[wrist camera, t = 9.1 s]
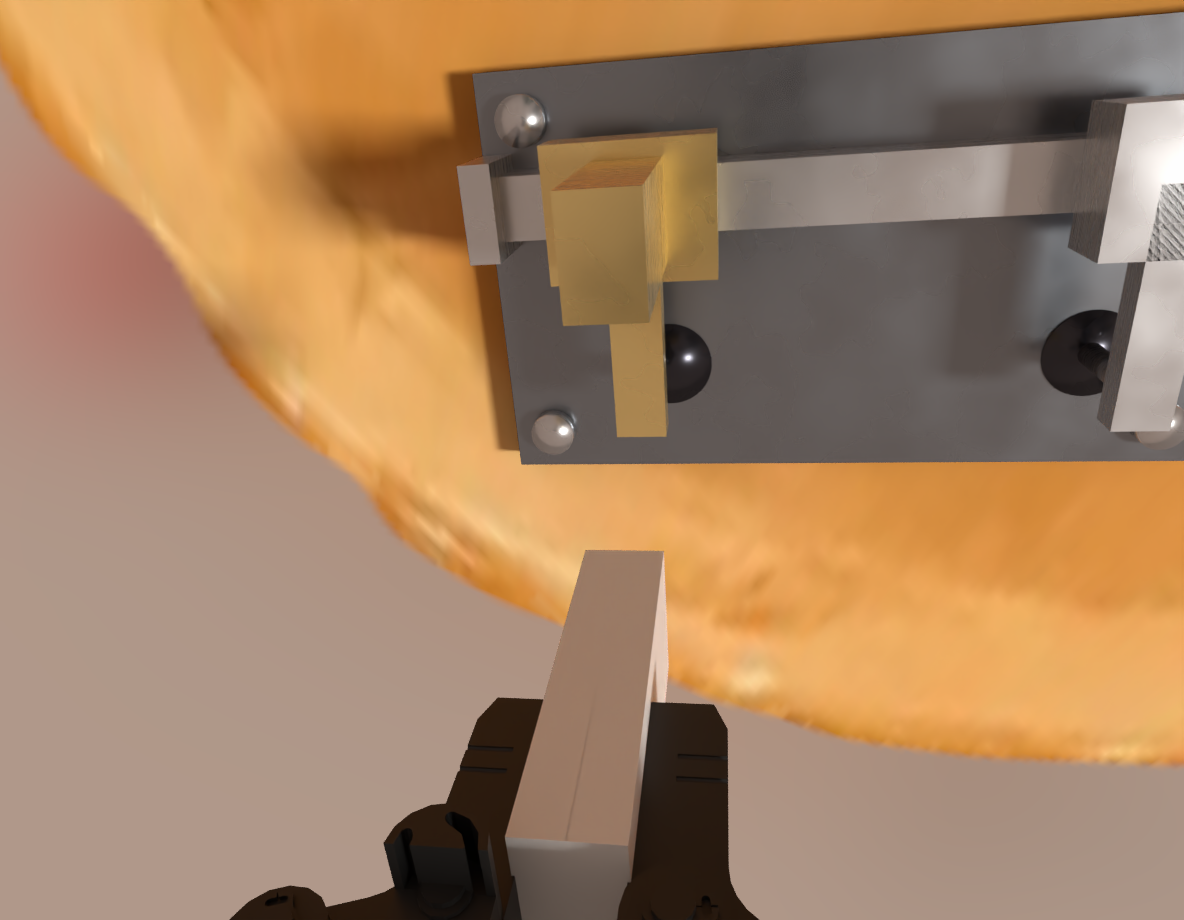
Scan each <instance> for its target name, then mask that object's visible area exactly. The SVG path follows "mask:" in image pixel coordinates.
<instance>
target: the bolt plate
mask: <svg viewBox="0 0 1184 920" xmlns="http://www.w3.org/2000/svg"><path fill="white" fill-rule="evenodd" d="M472 75H473V83H474V91H475V99H476V107H477V115H478V123H479V131H480V139H481V147H482V155H483V156H490V155H504V154H512V162H513V170H518V169H533V168H539V161H538V151H537V146H538V145H540V144H542V143H544V142H547V141H549V140H555V139H569V138H582V137H596V136H610V135H624V134H638V133H652V132H666V131H680V130H694V129H708V128H717V150H718V156H729V155H744V154H759V153H774V152H789V151H804V150H819V149H834V148H849V147H864V146H879V145H894V144H909V143H925V142H940V141H955V140H970V139H985V138H1000V137H1015V136H1030V135H1045V134H1060V133H1075V132H1087V128H1088V122H1089V116H1090V111H1091V105H1092V100H1103V99H1117V98H1131V97H1145V96H1159V95H1173V94H1184V12H1179V13H1167V14H1156V15H1144V16H1133V17H1121V18H1110V19H1098V20H1087V21H1075V22H1064V23H1052V24H1041V25H1029V26H1018V27H1006V28H995V29H983V30H972V31H960V32H949V33H937V34H926V35H914V36H903V37H891V38H880V39H868V40H857V41H845V42H834V43H822V44H811V45H799V46H787V47H776V48H764V49H753V50H741V51H730V52H718V53H707V54H695V55H684V56H672V57H661V58H649V59H638V60H626V61H615V62H603V63H592V64H580V65H569V66H557V67H546V68H534V69H523V70H511V71H500V72H488V73H477V74H472ZM1072 218H1073V213H1056V214H1037V215H1017V216H998V217H979V218H959V219H940V220H920V221H901V222H882V223H862V224H843V225H824V226H804V227H785V228H765V229H746V230H727V231H718V242H719V271H718V280H699V281H675V282H663V302H664V327H665V352H666V376H667V401H668V430H667V437H617V428H616V413H615V399H614V384H613V370H612V356H611V341H610V327H609V324H606V325H576V326H563V321H562V310H561V300H560V289H559V286H556V287H551V283H550V272H549V262H548V252H547V242H546V240H533V241H521V243H522V245H521V246H520V247H519V248H518V249H517V250H516V251H515V252H514V253H513V254H511V255H510V256H509V257H508V258H507V259H506V260H505V261H504V262H503V263H501V264H496V266H497V274H498V282H499V290H500V298H501V306H502V314H503V322H504V330H505V338H506V346H507V353H508V361H509V369H510V377H511V385H512V393H513V401H514V409H515V417H516V425H517V433H518V441H519V449H520V457H521V464H690V463H867V462H1044V461H1184V375H1183V379H1182V384H1181V388H1180V392H1179V396H1178V400H1177V404H1176V408H1175V412H1174V416H1173V421H1172V425H1171V429H1170V431H1129V432H1110V431H1109V430H1108V429H1107V428H1106V427H1105V426H1104V425H1103V424H1102V423H1101V422H1100V421H1099V420H1098V419H1097V414H1098V409H1099V404H1100V399H1101V394H1102V389H1103V384H1104V383H1103V382H1102V381H1101V380H1100V379H1099V378H1098V377H1096V376H1095V375H1094V374H1093V373H1092V372H1090V371H1089V370H1088V369H1087V368H1086V367H1085V366H1083V365H1082V364H1081V363H1080V362H1079V361H1078V358H1077V354H1078V351H1079V350H1080V348H1081V347H1082V346H1084V345H1085V344H1088V343H1098V344H1100V345H1101V346H1103V347H1104V348H1105V349H1106V350H1108V351H1109V352H1110V350H1111V345H1112V340H1113V335H1114V330H1115V325H1116V320H1117V315H1118V310H1119V305H1120V300H1121V295H1122V290H1123V285H1124V280H1125V275H1126V270H1127V265H1128V263H1104V264H1097V263H1095V262H1093V261H1091V260H1090V259H1088V258H1086V257H1084V256H1082V255H1080V254H1079V253H1077V252H1075V251H1073V250H1071V249H1069V248H1068V242H1069V236H1070V230H1071V224H1072Z"/></svg>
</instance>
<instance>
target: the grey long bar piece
mask: <svg viewBox="0 0 1184 920" xmlns="http://www.w3.org/2000/svg"><path fill="white" fill-rule="evenodd" d="M457 173H458V180H459V188H460V195H461V202H462V209H463V216H464V224H465V231H466V238H467V245H468V252H469V259H470V266H471V265H492V264H501V263H503V262H504V261H505V260H506V259H507V258H508V257H509V256H510V255H511V254H513V253H514V252H515V251H516V250H517V249H518V248H519V247H520V246H521V245H522V243H521V241H533V240H546V232H545V222H544V212H543V202H542V192H541V181H540V171H539V168H533V169H518V170H513V162H512V154H504V155H490V156H481V157H479V158H476V159H474V160H471V161H469V162H466V163H463V164H461V165H458V166H457ZM1056 213H1073V218H1072V224H1071V230H1070V236H1069V242H1068V248H1069V249H1071V250H1073V251H1075V252H1077V253H1079V254H1080V255H1082V256H1084V257H1086V258H1088V259H1090V260H1091V261H1093V262H1095V263H1097V264H1104V263H1128V265H1127V270H1126V275H1125V280H1124V285H1123V290H1122V295H1121V300H1120V305H1119V310H1118V315H1117V320H1116V325H1115V330H1114V335H1113V340H1112V345H1111V350H1110V352H1109V351H1108V350H1106V349H1105V348H1104V347H1103V346H1101V345H1100V344H1098V343H1088V344H1085V345H1084V346H1082V347H1081V348H1080V350H1079V351H1078V354H1077V358H1078V361H1079V362H1080V363H1081V364H1082V365H1083V366H1085V367H1086V368H1087V369H1088V370H1089V371H1090V372H1092V373H1093V374H1094V375H1095V376H1096V377H1098V378H1099V379H1100V380H1101V381H1102V382H1103V383H1104V384H1103V389H1102V394H1101V399H1100V404H1099V409H1098V414H1097V419H1098V420H1099V421H1100V422H1101V423H1102V424H1103V425H1104V426H1105V427H1106V428H1107V429H1108V430H1109V431H1110V432H1129V431H1170V429H1171V425H1172V421H1173V416H1174V412H1175V408H1176V404H1177V400H1178V396H1179V392H1180V388H1181V384H1182V379H1183V375H1184V94H1173V95H1159V96H1145V97H1131V98H1117V99H1103V100H1092V105H1091V111H1090V116H1089V122H1088V128H1087V132H1075V133H1060V134H1045V135H1030V136H1015V137H1000V138H985V139H970V140H955V141H940V142H925V143H909V144H894V145H879V146H864V147H849V148H834V149H819V150H804V151H789V152H774V153H759V154H744V155H729V156H718V231H727V230H746V229H765V228H785V227H804V226H824V225H843V224H862V223H882V222H901V221H920V220H940V219H959V218H979V217H998V216H1017V215H1037V214H1056Z"/></svg>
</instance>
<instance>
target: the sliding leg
mask: <svg viewBox="0 0 1184 920" xmlns="http://www.w3.org/2000/svg"><path fill="white" fill-rule="evenodd" d="M537 151H538V161H539V171H540V181H541V192H542V202H543V212H544V222H545V232H546V242H547V252H548V262H549V272H550V283H551V287H556V286H559V289H560V300H561V310H562V321H563V326H576V325H606V324H609V327H610V341H611V356H612V370H613V384H614V399H615V413H616V428H617V437H667V430H668V401H667V376H666V352H665V327H664V302H663V282H675V281H699V280H718V271H719V242H718V150H717V128H708V129H694V130H680V131H666V132H652V133H638V134H624V135H610V136H596V137H582V138H569V139H555V140H549V141H547V142H544V143H542V144H540V145H538V146H537Z"/></svg>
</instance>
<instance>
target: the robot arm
mask: <svg viewBox="0 0 1184 920" xmlns="http://www.w3.org/2000/svg"><path fill="white" fill-rule="evenodd" d="M668 667H669V664H668V640H667V617H666V593H665V570H664V551H621V550H586V551H585V554H584V558H583V561H582V565H581V568H580V572H579V576H578V579H577V583H576V586H575V590H574V593H573V597H572V600H571V604H570V607H569V611H568V615H567V618H566V622H565V625H564V629H563V632H562V636H561V639H560V643H559V647H558V650H557V654H556V657H555V661H554V665H553V668H552V672H551V675H550V679H549V682H548V686H547V690H546V693H545V696H544V700H543V699H542V700H541V699H519V698H497V699H496V700H495V701H494V702H493V704H492V705H491V706H490V707H489V708H488V709H487V710H486V711H485V712H484V713H483V714H482V715H481V716H480V717H479V718H478V720H477V722H476V725H475V727H474V730H473V733H472V735H471V738H470V741H469V744H468V750H466V752H465V754H464V757H463V759H462V762H461V765H460V771H459V772H458V773H457V775H456V778H455V781H454V783H453V786H452V789H451V792H450V794H449V797H448V800H447V802H446V804H437V805H430V806H427V807H425V808H423V809H420V810H418V811H415V812H413V813H411V814H410V815H408V816H407V817H406V818H405V819H403V820H402V821H401V822H400V823H398V824H397V825H396V826H395V827H394V828H393V830H392V831H391V833H390V834H389V836H388V837H387V839H386V840H385V842H384V847H385V851H386V854H387V859H388V862H389V866H390V870H391V874H392V878H393V882H394V885H395V887H393V888H391V889H389V890H387V891H386V892H383V893H380V894H377V895H374V896H371V897H368V898H364V899H360V900H355V901H351V902H347V903H342V904H338V905H334V906H329V907H326V906H325V904H324V902H323V900H322V897H321V896H319V895H318V894H316V893H315V892H313V891H312V890H311V889H309V888H305V887H296V886H286V887H283V888H278V889H273V890H269V891H267V892H266V893H264V894H262V895H260V896H258V897H256V898H254V899H253V900H251V901H249V902H248V903H247V904H246V905H245V906H243V907H242V908H241V909H240V910H239V911H238V912H237V913H236V914H235V915H234V916H233V917H232V918H231V919H230V920H759V919H758V918H756V917H755V916H754V915H753V914H752V913H751V912H749V911H748V910H747V909H746V908H745V906H744V905H743V904H742V902H741V901H740V900H739V898H738V897H737V895H736V893H735V891H734V888H733V886H732V884H731V881H730V874H729V865H728V864H729V862H728V732H727V731H728V730H727V727H726V725H725V724H724V722H723V720H722V718H721V716H720V715H719V713H718V711H717V709H716V707H715V706H714V705H710V704H686V703H665V699H666V688H667V678H668Z"/></svg>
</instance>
